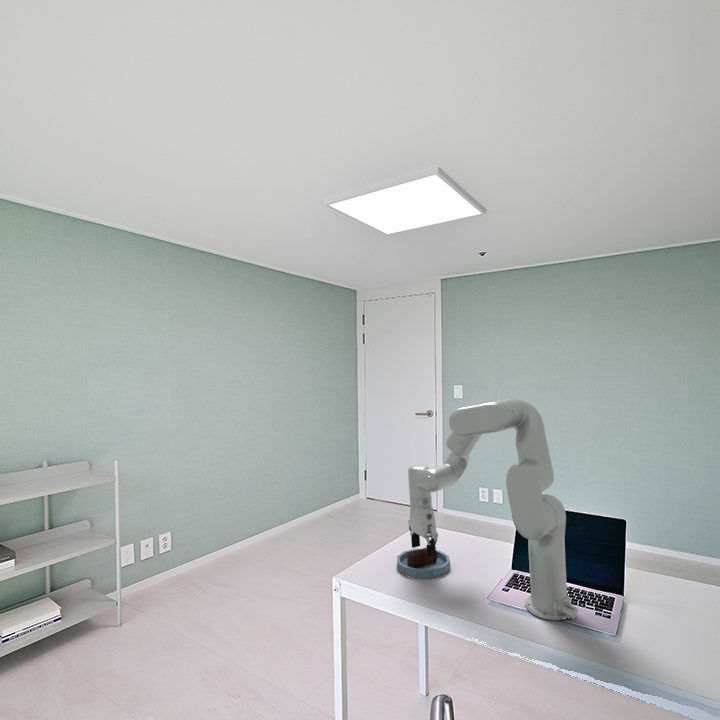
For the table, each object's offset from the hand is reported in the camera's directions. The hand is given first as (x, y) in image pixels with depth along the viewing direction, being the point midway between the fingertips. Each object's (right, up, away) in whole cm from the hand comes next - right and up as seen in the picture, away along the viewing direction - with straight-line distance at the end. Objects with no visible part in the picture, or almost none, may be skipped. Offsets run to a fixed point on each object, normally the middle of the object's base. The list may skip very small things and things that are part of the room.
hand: (423, 551), depth 160 cm
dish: (0, -6, 0) cm, 6 cm away
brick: (0, -5, 0) cm, 5 cm away
